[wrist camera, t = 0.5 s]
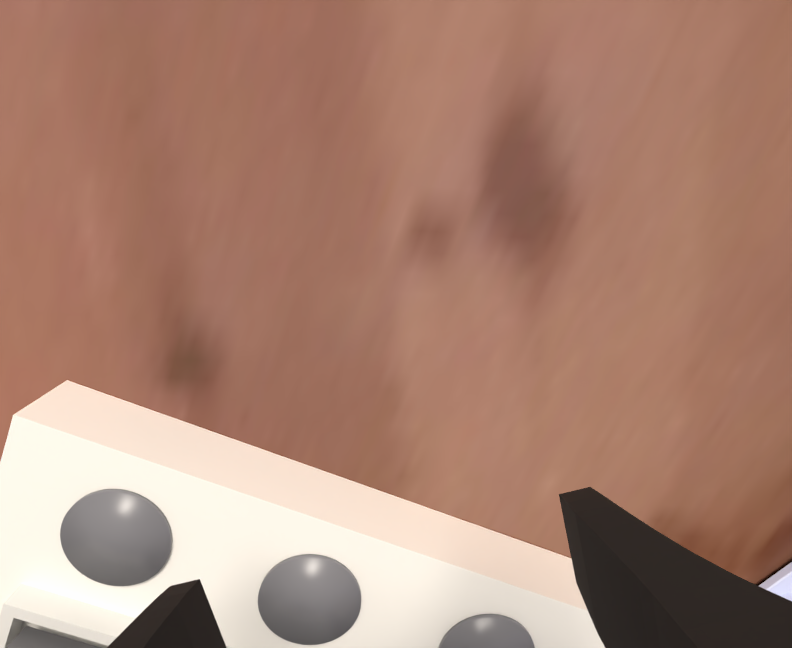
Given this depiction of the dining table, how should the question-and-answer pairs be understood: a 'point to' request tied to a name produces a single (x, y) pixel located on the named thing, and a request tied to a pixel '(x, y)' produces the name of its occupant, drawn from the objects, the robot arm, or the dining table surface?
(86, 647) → the rocker
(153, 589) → the rocker switch panel
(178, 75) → the dining table surface
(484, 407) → the dining table surface
